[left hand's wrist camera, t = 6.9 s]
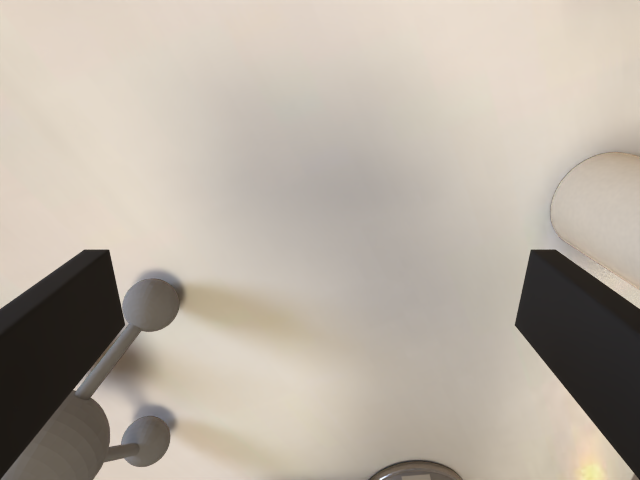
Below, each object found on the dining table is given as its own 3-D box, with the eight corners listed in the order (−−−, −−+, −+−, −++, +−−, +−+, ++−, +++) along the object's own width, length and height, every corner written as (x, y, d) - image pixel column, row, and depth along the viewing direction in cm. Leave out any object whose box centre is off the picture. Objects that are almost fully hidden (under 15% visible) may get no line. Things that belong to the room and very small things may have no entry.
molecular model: (263, 335, 46) (178, 717, 18) (163, 442, 52) (-15, 849, 25) (81, 211, 41) (-439, 490, 13) (-8, 347, 47) (-488, 735, 19)
